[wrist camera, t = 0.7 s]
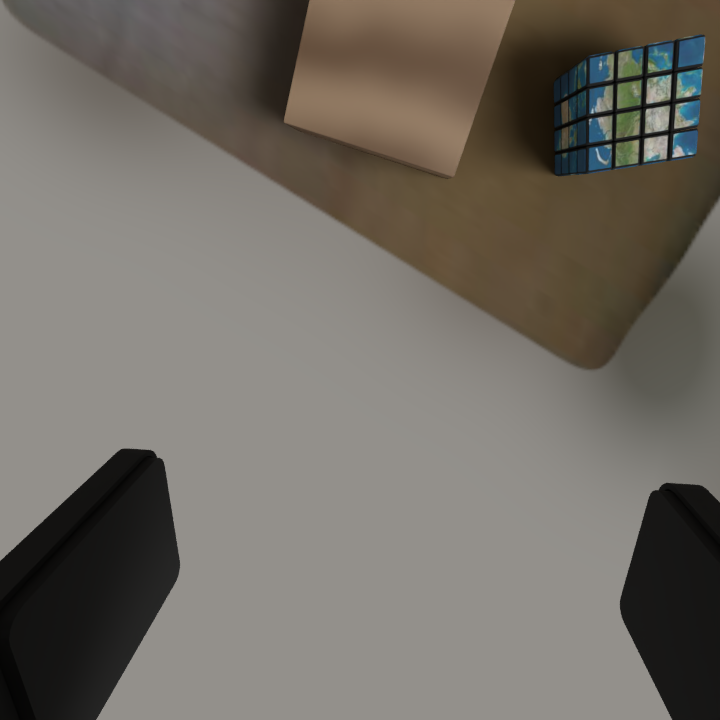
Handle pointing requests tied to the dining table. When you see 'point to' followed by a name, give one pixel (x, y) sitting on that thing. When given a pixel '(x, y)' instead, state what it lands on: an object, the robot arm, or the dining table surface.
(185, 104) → the dining table surface
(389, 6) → the brown wooden flat block
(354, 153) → the dining table surface
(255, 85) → the dining table surface
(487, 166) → the dining table surface
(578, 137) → the puzzle
